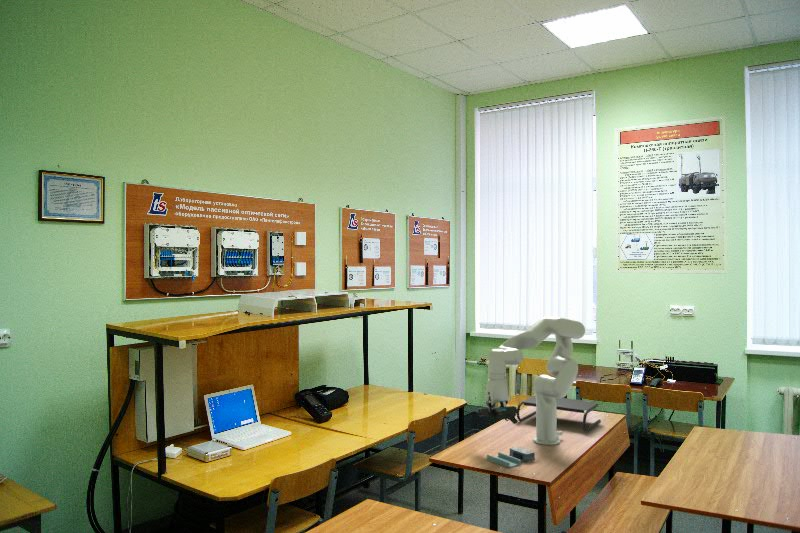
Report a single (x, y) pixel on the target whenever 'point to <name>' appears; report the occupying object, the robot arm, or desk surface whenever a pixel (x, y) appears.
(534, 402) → the monitor stand
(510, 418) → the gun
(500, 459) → the cradle tray
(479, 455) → the desk surface
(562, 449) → the desk surface
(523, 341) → the robot arm
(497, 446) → the desk surface
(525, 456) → the block
